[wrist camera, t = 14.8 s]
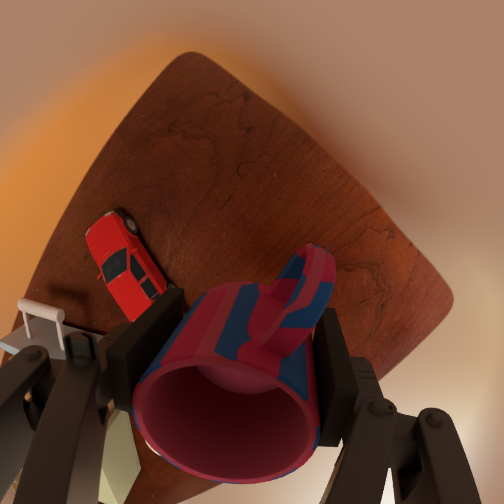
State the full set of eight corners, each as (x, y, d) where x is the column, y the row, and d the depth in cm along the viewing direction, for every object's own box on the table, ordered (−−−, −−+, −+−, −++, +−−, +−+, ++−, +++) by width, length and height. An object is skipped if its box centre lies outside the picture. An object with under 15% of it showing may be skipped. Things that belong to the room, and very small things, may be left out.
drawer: (30, 281, 36) (-11, 301, 28) (104, 297, 34) (64, 327, 26) (57, 399, 41) (30, 428, 32) (124, 424, 39) (100, 461, 31)
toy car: (125, 201, 32) (101, 205, 28) (197, 311, 34) (183, 331, 30) (89, 232, 34) (64, 241, 29) (156, 334, 36) (139, 354, 31)
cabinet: (52, 376, 41) (15, 411, 31) (126, 402, 39) (94, 449, 29) (74, 443, 45) (49, 477, 35) (141, 468, 43) (120, 509, 33)
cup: (164, 346, 17) (109, 426, 10) (268, 195, 14) (252, 214, 8) (261, 407, 17) (247, 500, 11) (380, 279, 15) (435, 350, 8)
